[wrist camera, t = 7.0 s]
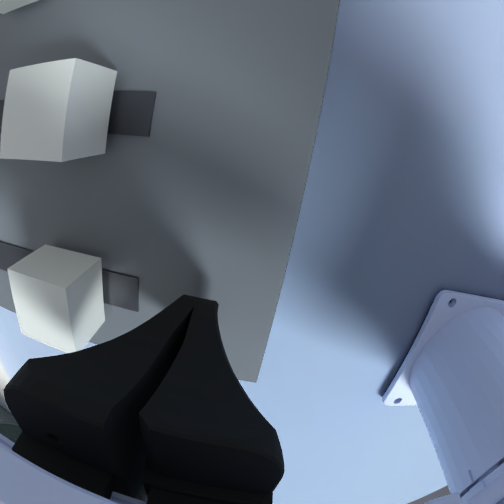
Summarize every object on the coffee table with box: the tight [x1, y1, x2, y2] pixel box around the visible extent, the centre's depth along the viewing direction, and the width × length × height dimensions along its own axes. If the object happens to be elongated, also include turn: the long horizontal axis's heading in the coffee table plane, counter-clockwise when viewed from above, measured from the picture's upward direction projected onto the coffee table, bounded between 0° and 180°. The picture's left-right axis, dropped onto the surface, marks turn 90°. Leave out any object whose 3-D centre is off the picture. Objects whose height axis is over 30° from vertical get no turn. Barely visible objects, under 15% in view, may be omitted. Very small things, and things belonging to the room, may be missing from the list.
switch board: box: [0, 0, 340, 382], centre depth 10 cm, size 18×22×2 cm
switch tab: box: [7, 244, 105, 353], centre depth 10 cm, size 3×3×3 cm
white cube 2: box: [0, 58, 117, 162], centre depth 8 cm, size 3×3×3 cm
